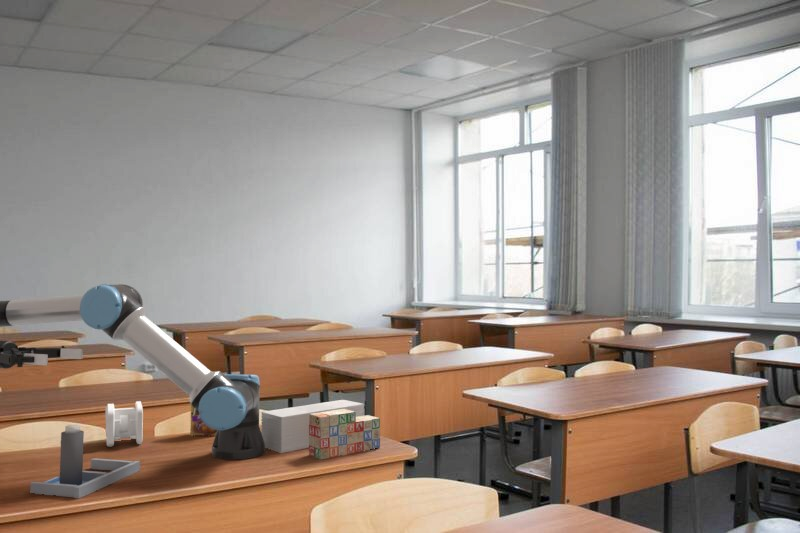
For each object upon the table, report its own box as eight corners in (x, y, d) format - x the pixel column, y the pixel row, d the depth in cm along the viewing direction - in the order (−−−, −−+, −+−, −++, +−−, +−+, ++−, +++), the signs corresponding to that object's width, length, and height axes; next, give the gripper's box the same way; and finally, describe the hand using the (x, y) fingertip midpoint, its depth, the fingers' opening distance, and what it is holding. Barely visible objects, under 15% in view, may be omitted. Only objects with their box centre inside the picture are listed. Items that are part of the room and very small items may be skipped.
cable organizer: (142, 446, 214) (143, 408, 214) (105, 450, 210) (105, 410, 210) (140, 436, 228) (141, 400, 228) (105, 439, 224) (105, 402, 224)
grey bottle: (86, 484, 174) (88, 425, 175) (72, 489, 169) (74, 428, 170) (69, 482, 176) (71, 423, 176) (54, 487, 171) (56, 427, 171)
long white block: (342, 431, 238) (343, 399, 238) (363, 437, 230) (364, 403, 230) (261, 447, 215) (261, 411, 215) (281, 453, 208) (281, 417, 208)
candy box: (189, 436, 227) (190, 389, 228) (192, 433, 232) (192, 386, 232) (218, 436, 228) (218, 388, 229) (220, 433, 233) (220, 386, 233)
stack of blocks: (368, 444, 219) (368, 405, 219) (380, 448, 214) (380, 408, 214) (308, 455, 205) (308, 413, 206) (320, 460, 201) (320, 416, 201)
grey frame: (139, 470, 188) (139, 461, 188) (78, 498, 164) (78, 487, 164) (93, 467, 191) (93, 457, 191) (26, 493, 168) (26, 483, 168)
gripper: (30, 362, 205) (95, 365, 200) (-41, 374, 181) (30, 377, 176) (31, 336, 205) (95, 338, 200) (-41, 344, 181) (30, 347, 176)
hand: (65, 356), depth 188 cm, fingers open, 13 cm apart
